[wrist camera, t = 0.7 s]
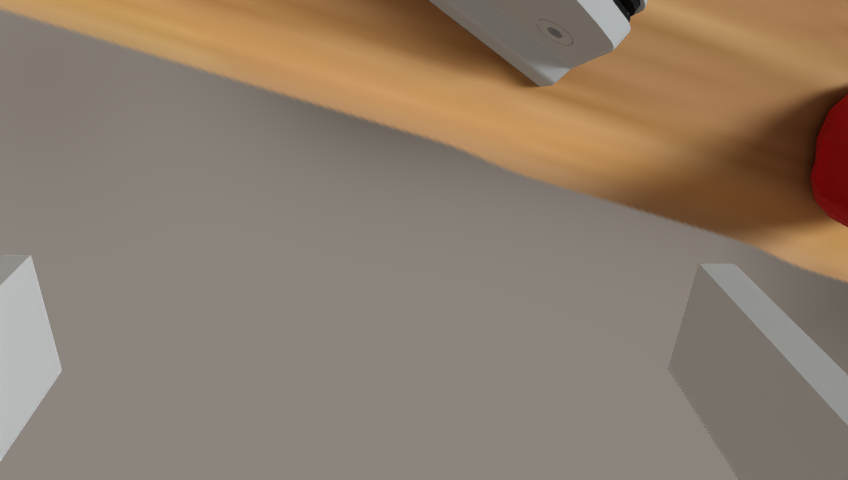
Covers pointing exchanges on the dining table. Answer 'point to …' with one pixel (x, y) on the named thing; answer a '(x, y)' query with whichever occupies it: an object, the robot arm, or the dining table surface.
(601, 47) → the grey rounded block
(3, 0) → the dining table surface
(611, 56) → the dining table surface
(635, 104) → the dining table surface
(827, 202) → the water bottle
